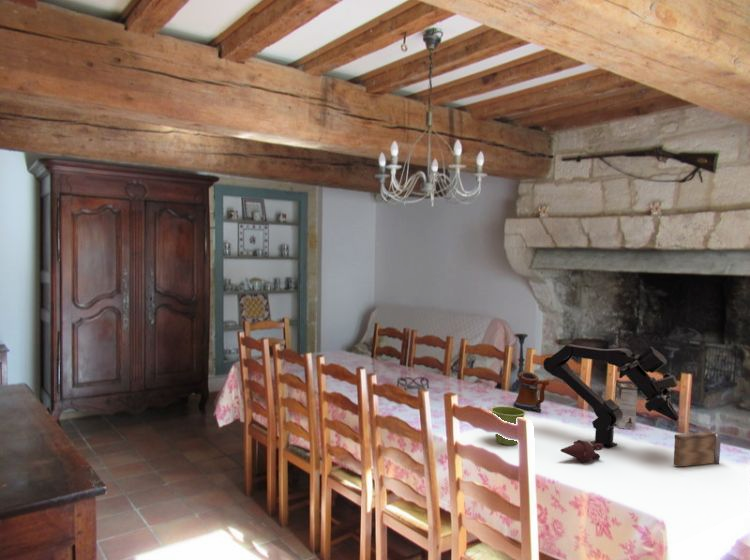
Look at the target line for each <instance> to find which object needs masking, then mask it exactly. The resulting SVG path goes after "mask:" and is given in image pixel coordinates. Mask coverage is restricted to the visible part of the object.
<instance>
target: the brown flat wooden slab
mask: <svg viewBox="0 0 750 560" xmlns="http://www.w3.org/2000/svg"><path fill="white" fill-rule="evenodd" d="M715 433H716V432H711V431H706V432H705V431H704V432H693V433H692V432H691V433H681V434H680V433H679V434H674V448H673V449H674V451H673V465H674V466H676V467H684V466H685V467H686V466H696V465H705V464H713V463H714V452H715V438H716V434H715Z"/></svg>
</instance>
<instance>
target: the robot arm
mask: <svg viewBox="0 0 750 560" xmlns="http://www.w3.org/2000/svg"><path fill="white" fill-rule="evenodd" d="M573 357H575V358H576V357H577V358H583V359H589V360H597V361H603V362H605V363H607V364H609V365H612V366H614V367H617V368H618V367H619V368H620V367H624V366H625V368H621V369H619V371H618V373H619V375H618V378H619V379H622V378H623V377H625V376H626V377H627V379H628V380H629V382H631V384H633V385H634V386H635V387H636V388H637V389H636V390H637V393H638V392H640V393H641V395H643V396H644V397H645V404H644V408H645V409H646V410H647V412H652V411H654V412H657V413H659V414H661V415H663V416H665V417H666V418H669V419H670V420H673V421H675V422H676V421H678V420H679V414H678V413H677V411H676V410H675V408H674V406H673V404H672V402H671V394H669V393H670V392H671V391H672V389H673V388H676V387H678V382H677V378H676V377H675V375H673V374H671V373H669V372H666V373H663V374H662V377H661V378H659V379H656V377H653V376H650V374H653V373H655V372H657V371H658V370H659V369H660V368H662V367H663V366H665V365H666V364H667V363H668V361H667V359H666V357H665V356H664V355H663V354H662V353H660V352H659V351H658V350H657V349H655V347H653V346H650V347H648V348H647V349H646V351H645V352H643V353H641V354H637V353H634V352H632V351H631V350H630V349H629V348H624V347H623V348H621V347H620V348H607V349H606V348H605V349H604V348H599V347H598V348H597V347H590V346H584V345H583V346H582V345H577V344H571V343H570V344H567V345H564V346H563V348H561V349H560V350H559V351H557V352H556V353H554V354H553V355H552V356H548V357H545V358H544V360H543V369H544V371H546V372H547V373H549V374H550V375H551V376H553V377H555V378H558V379H559V380H562V381H563V382H564V383H565V384H566V385H567V386H568V387H569V388H570V389H572V390H573V391H574V392H575V394H577V396H579V397H580V398H581V399H582V400H583V401H585V403H587V405H589V406H590V407H591V409H592V410H593V412H594V415H595V416H596V417H597V418H595V419H594V420H592V422H591V424H592V427H593V429H595V433H594V435H595V437H594V440H592V441H590V444H591V445H594V444H596V443H601V444H602V445H603V446H604V447H603V448H604V449H605V448H606V449H609V448H613V447H615V446H618V443H617V442H614V436H615V435H614V432H615V430H614V429H615V427H616V426H617V423H618V422H620V421H621V420H622V418H623V414H622V411H621V409H620V406H618V405H616V404H615V401H614V400H613V399H611V398H609V399H607V400H605V399H603V398H602V397H601V396H600V395H599V394H597V393H596V391H594V390H593V389H592V388H590V386H589V385H587V384H586V383H585V382H584V381H583V380H582V379H581V378H580V377H578V375H576V374H575V373H574V372H573V371H572V370H571V367H570V366H569V364H568V362H569V361H570V360H571V359H572V358H573ZM635 363H637V364H635ZM633 364H635V365H633ZM626 366H627V367H626ZM648 373H650V374H648ZM670 388H671V389H670ZM667 394H668V395H667Z"/></svg>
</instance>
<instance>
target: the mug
mask: <svg viewBox="0 0 750 560" xmlns="http://www.w3.org/2000/svg"><path fill="white" fill-rule="evenodd" d="M517 375H518V379H519V380H518V384H519V388H518V389H519V390H518V395H517V396H516V399H515V401H514V402H513V407H514V408H519V409H522V410H524V411H525V412H526V411H528V412H537V413H541V412H542V409H541V406H542V405H541V404H542V403H544V402H545V397H546V396H545V390H546V386H549V385H550V383H551V382H550V381H549V380H540V379H539V377H538V376H537V375H536V374H535V373H533V372H530V371H520V372H518V374H517ZM539 385H541V387H539ZM539 388H540V389H539ZM538 389H539V397H538V394H537V393H538Z"/></svg>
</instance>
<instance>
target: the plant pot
mask: <svg viewBox="0 0 750 560" xmlns="http://www.w3.org/2000/svg"><path fill="white" fill-rule="evenodd" d="M490 411H491V412H492V413H491V414H493V413H494V414H496V415H497V416H498V417H500V418H501V419H502V420H504V421H507V422H510V423H514V424H516V418H517V417H523V418H524V416H525V415H526V414H527V413H526V411H525V410H522V409H519V408H516V407H514V406H513V407H512V406H506V405H505V406H504V405H502V406H501V405H499V406H494V407H491V408H490ZM495 441H496V442H497V443H498V444H499V445H501V444H503V445H504V446H505V445H506V446H515V445H516V444H518V442H517V441H514V440H508V439H505V438H503V437H502V436H500V435H498V434H495Z"/></svg>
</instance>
